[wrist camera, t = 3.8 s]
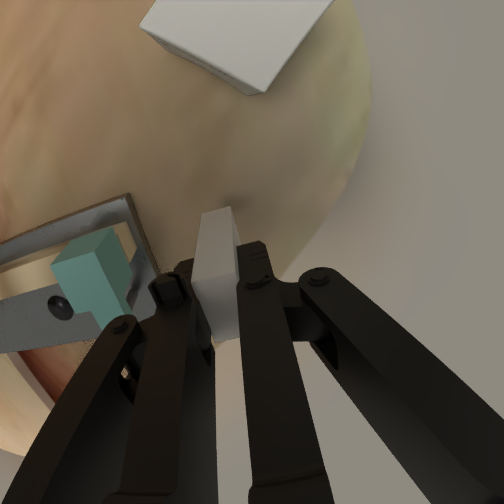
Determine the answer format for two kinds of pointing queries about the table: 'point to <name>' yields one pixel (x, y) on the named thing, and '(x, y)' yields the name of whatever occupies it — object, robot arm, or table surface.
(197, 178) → the table surface
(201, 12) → the product box
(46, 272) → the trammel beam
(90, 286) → the block
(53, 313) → the bolt plate
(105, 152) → the table surface
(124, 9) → the table surface
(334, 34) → the table surface
